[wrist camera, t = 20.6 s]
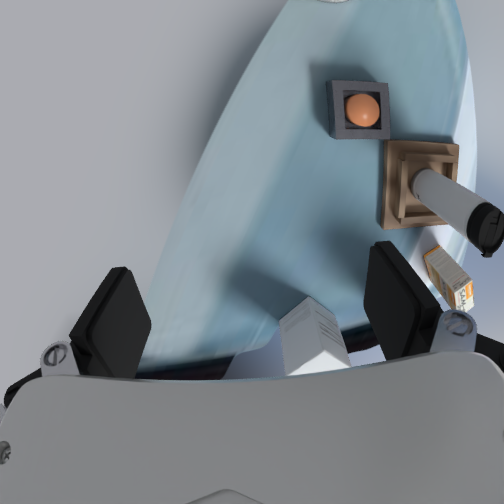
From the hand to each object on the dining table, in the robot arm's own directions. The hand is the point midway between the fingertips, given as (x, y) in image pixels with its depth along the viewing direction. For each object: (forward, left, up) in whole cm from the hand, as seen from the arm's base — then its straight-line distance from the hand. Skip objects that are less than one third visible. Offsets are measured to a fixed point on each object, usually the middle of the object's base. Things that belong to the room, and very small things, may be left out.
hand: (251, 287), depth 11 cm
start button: (-5, +17, -35) cm, 39 cm away
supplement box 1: (+36, +8, -36) cm, 52 cm away
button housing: (-5, +17, -36) cm, 40 cm away
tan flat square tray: (+8, +30, -36) cm, 48 cm away
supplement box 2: (+26, +37, -36) cm, 58 cm away
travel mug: (+8, +30, -35) cm, 47 cm away
